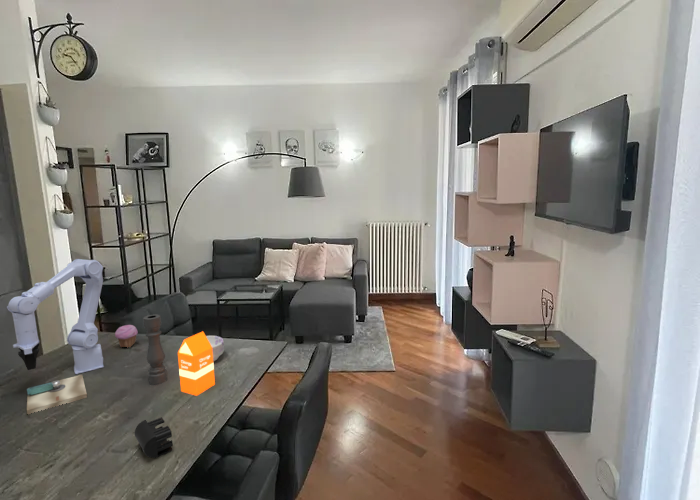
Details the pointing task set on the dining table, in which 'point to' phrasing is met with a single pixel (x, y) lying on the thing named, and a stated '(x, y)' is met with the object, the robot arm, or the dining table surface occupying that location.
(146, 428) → the end cap
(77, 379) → the latch board
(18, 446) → the dining table surface
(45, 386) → the teal rounded rod
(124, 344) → the cupcake
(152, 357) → the candle holder
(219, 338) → the paper bowls
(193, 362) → the orange juice
